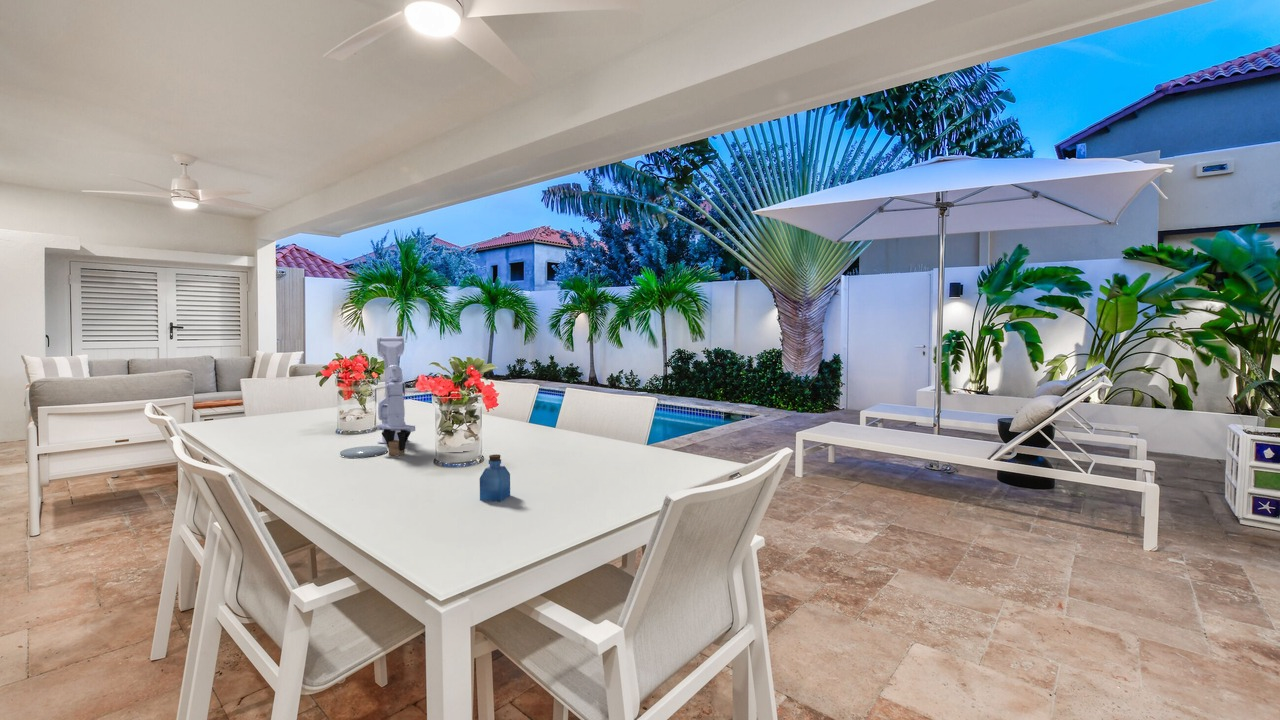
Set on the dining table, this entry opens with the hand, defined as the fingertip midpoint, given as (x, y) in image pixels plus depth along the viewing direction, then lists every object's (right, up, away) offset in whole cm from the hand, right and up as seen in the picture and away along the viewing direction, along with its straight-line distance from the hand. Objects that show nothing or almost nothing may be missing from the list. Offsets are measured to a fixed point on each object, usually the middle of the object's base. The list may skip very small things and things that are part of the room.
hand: (396, 449), depth 209 cm
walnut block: (0, -2, 0) cm, 2 cm away
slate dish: (-13, -2, +2) cm, 13 cm away
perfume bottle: (+50, -5, -52) cm, 72 cm away
